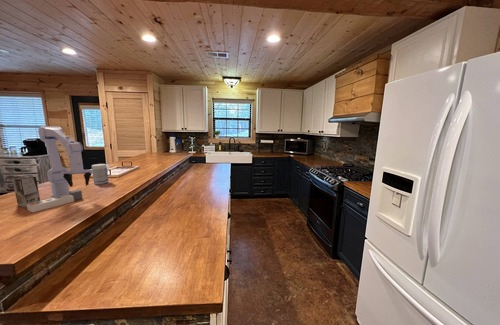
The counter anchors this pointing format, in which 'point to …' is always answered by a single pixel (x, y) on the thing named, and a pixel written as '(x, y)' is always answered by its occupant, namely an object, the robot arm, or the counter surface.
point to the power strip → (50, 203)
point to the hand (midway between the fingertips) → (79, 185)
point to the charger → (76, 194)
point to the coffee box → (26, 190)
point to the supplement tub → (100, 173)
